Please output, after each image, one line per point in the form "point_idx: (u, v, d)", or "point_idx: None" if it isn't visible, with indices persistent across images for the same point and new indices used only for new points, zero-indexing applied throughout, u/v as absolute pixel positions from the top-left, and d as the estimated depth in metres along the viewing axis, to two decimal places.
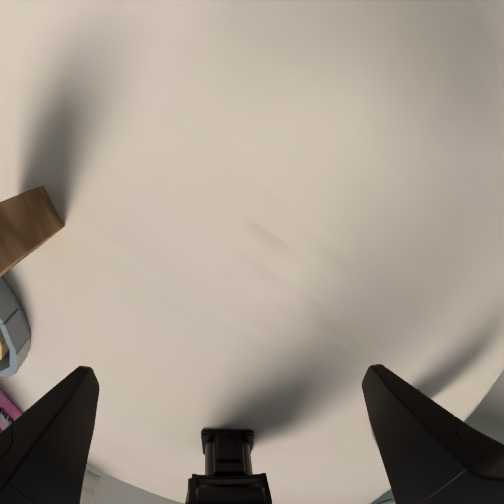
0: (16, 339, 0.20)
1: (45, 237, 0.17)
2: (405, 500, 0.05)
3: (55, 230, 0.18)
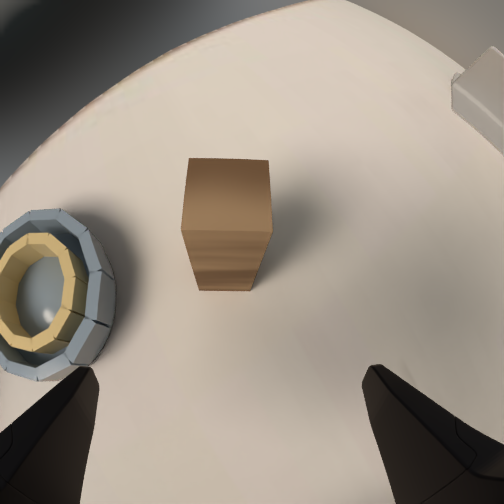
0: (85, 350, 0.17)
1: (253, 279, 0.20)
2: (405, 500, 0.05)
3: (251, 284, 0.22)
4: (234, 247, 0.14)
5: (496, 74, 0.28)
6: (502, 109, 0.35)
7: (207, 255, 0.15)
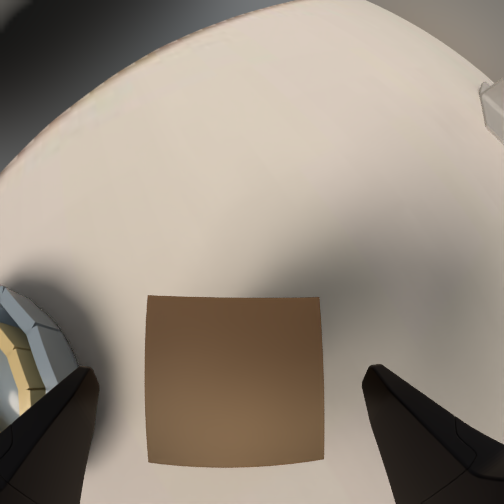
0: None
1: None
2: (405, 500, 0.05)
3: None
4: None
5: None
6: None
7: None
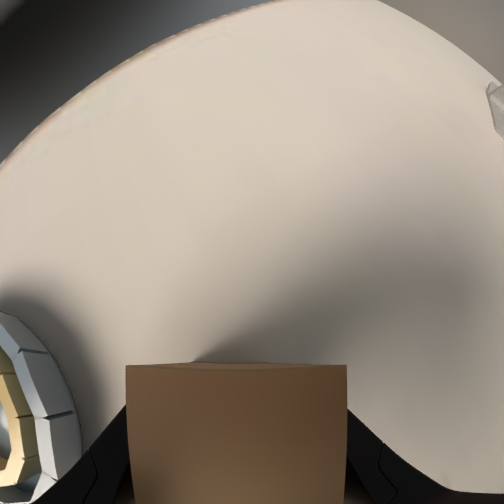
0: None
1: None
2: None
3: None
4: None
5: None
6: None
7: None
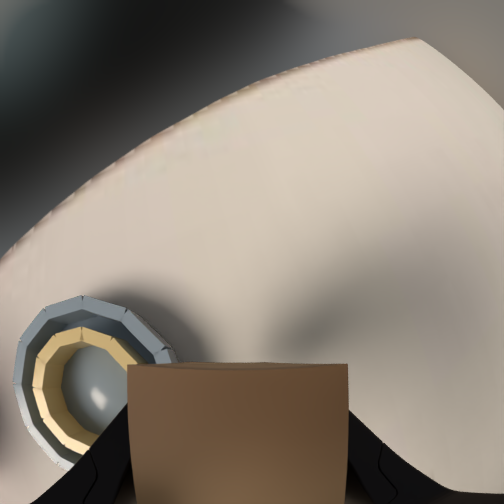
0: None
1: None
2: None
3: None
4: None
5: None
6: None
7: None
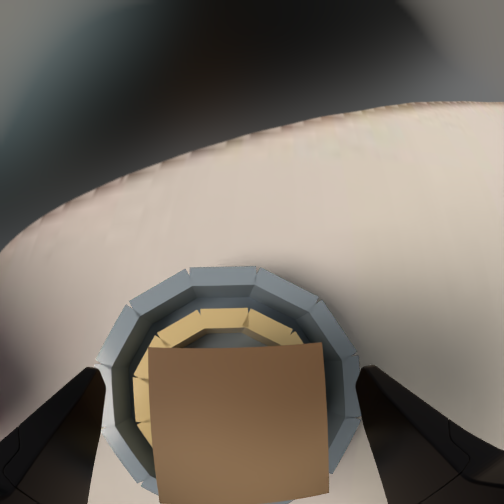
0: None
1: None
2: (398, 503, 0.05)
3: None
4: None
5: None
6: None
7: None
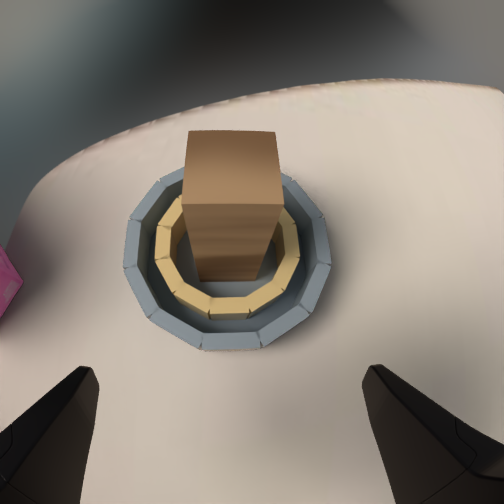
0: None
1: None
2: (405, 500, 0.05)
3: (256, 274, 0.20)
4: (240, 226, 0.13)
5: None
6: None
7: (209, 236, 0.14)
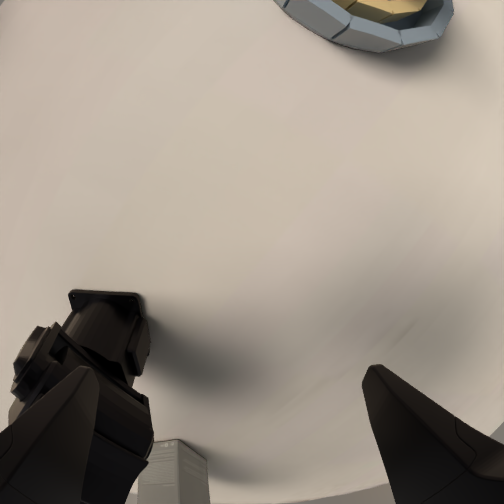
0: (362, 36, 0.13)
1: None
2: (405, 500, 0.05)
3: None
4: None
5: None
6: None
7: None
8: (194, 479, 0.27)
